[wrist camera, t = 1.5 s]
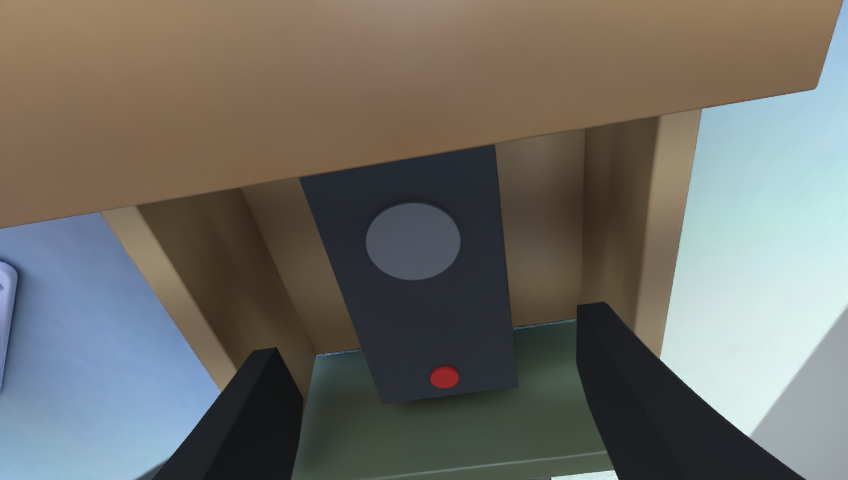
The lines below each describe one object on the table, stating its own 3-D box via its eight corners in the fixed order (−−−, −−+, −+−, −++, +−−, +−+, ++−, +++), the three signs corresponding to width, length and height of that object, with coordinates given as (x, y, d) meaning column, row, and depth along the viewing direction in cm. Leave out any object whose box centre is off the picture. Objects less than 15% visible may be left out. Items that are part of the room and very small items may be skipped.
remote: (503, 322, 18) (519, 391, 16) (385, 338, 19) (381, 409, 16) (478, 90, 13) (495, 136, 10) (315, 120, 13) (293, 171, 11)
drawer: (601, 395, 23) (651, 522, 18) (332, 429, 24) (313, 557, 19) (632, -55, 12) (772, -29, 7) (141, 43, 13) (-7, 120, 8)
